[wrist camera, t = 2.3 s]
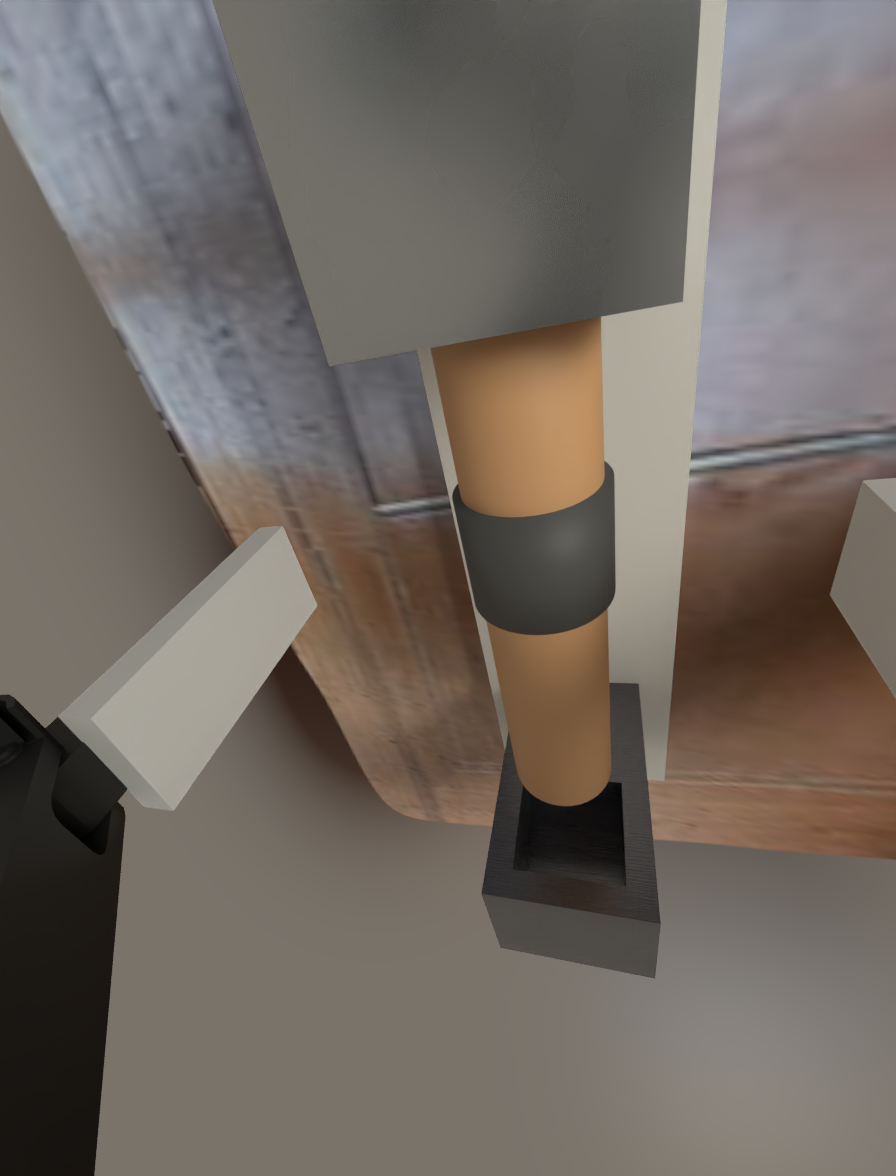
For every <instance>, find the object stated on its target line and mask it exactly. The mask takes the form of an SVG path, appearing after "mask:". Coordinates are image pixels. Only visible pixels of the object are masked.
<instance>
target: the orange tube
mask: <svg viewBox="0 0 896 1176" xmlns="http://www.w3.org/2000/svg"><path fill="white" fill-rule="evenodd" d="M430 349H431V354H432V359H433V364H434V369H435V373H436V378H437V383H438V388H439V393H440V398H441V403H442V408H443V412H444V417H445V422H446V427H447V432H448V437H449V442H450V447H451V451H452V456H453V461H454V466H455V471H456V476H457V481H458V484H457V485H456V487H455V488H454V491H453V494H452V500H453V504H454V509H455V514H456V518H457V523H458V527H459V532H460V537H461V541H462V546H463V551H464V555H465V560H466V564H467V569H468V574H469V578H470V583H471V588H472V592H473V597H474V601H475V606H476V608H477V610H478V612H479V613H480V615H481V616H482V617H483V618H484V619H485V620H486V622H487V627H488V632H489V637H490V642H491V647H492V651H493V656H494V661H495V666H496V671H497V676H498V681H499V686H500V690H501V695H502V700H503V705H504V710H505V715H506V720H507V725H508V729H509V734H510V739H511V744H512V749H513V754H514V759H515V764H516V768H517V773H518V776H519V778H520V781H521V782H522V784H523V785H524V787H525V788H526V789H527V790H528V791H529V792H530V793H531V794H532V795H533V796H535V797H536V798H538V799H540V800H542V801H544V802H546V803H549V804H553V805H558V806H574V805H579V804H582V803H585V802H588V801H590V800H592V799H593V798H595V797H596V796H597V795H599V794H600V793H601V792H602V790H603V789H604V788H605V787H606V785H607V783H608V781H609V778H610V774H611V731H610V688H609V644H608V607H609V606H610V604H611V602H612V601H613V599H614V595H615V589H616V575H615V483H614V471H613V469H612V467H611V466H610V465H609V464H608V463H607V462H605V461H604V426H603V383H602V339H601V317H597V318H592V319H586V320H581V321H575V322H570V323H564V324H559V325H553V326H548V327H542V328H537V329H531V330H526V331H521V332H515V333H510V334H504V335H499V336H493V337H488V338H482V339H477V340H471V341H466V342H460V343H455V344H450V345H444V346H439V347H433V348H430Z"/></svg>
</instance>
